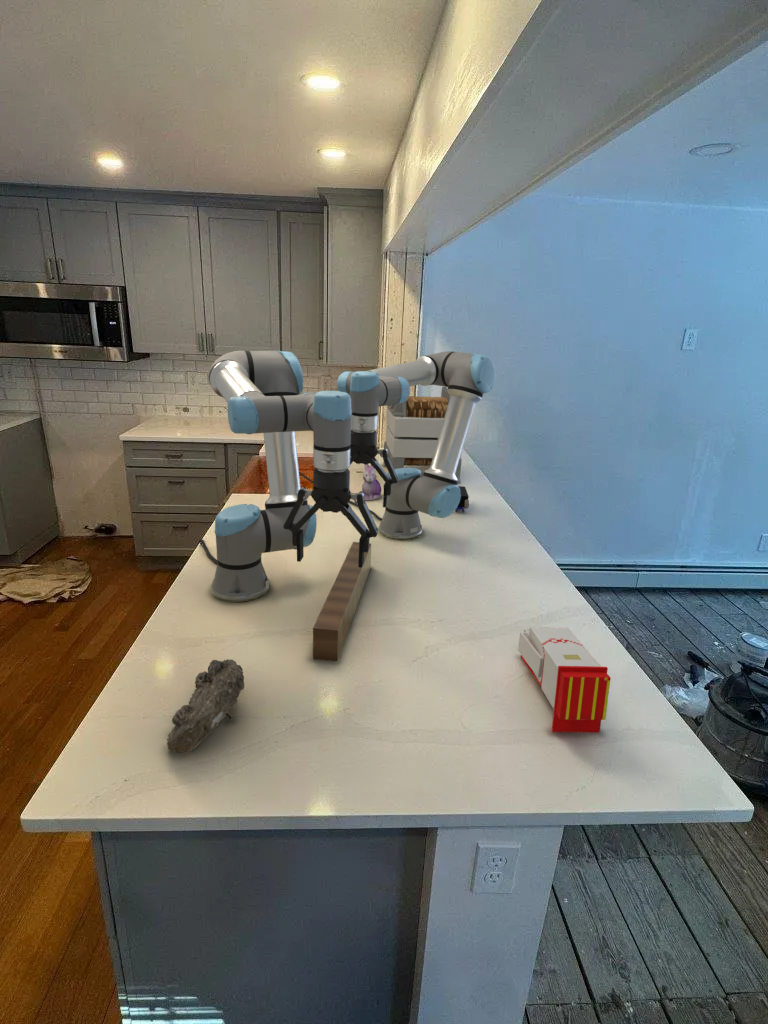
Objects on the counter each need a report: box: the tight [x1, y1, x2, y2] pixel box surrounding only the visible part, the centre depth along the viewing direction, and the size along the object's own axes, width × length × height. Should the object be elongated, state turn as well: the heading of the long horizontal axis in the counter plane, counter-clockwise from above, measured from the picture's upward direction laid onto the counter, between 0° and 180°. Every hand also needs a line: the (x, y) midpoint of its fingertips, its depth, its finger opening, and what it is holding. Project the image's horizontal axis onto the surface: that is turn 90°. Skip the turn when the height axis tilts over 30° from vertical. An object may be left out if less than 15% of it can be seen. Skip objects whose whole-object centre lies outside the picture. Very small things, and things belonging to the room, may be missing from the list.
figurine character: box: [454, 485, 470, 513], centre depth 227 cm, size 7×8×15 cm
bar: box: [312, 541, 372, 663], centre depth 149 cm, size 50×6×8 cm, turn 173°
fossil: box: [166, 658, 245, 754], centre depth 106 cm, size 22×10×15 cm
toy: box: [517, 626, 611, 734], centre depth 119 cm, size 12×13×30 cm
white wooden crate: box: [383, 386, 463, 484], centre depth 268 cm, size 34×33×41 cm
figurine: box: [361, 464, 382, 501], centre depth 234 cm, size 9×10×15 cm
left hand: (330, 562), depth 124 cm, fingers open, 13 cm apart
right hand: (361, 504), depth 161 cm, fingers open, 13 cm apart
